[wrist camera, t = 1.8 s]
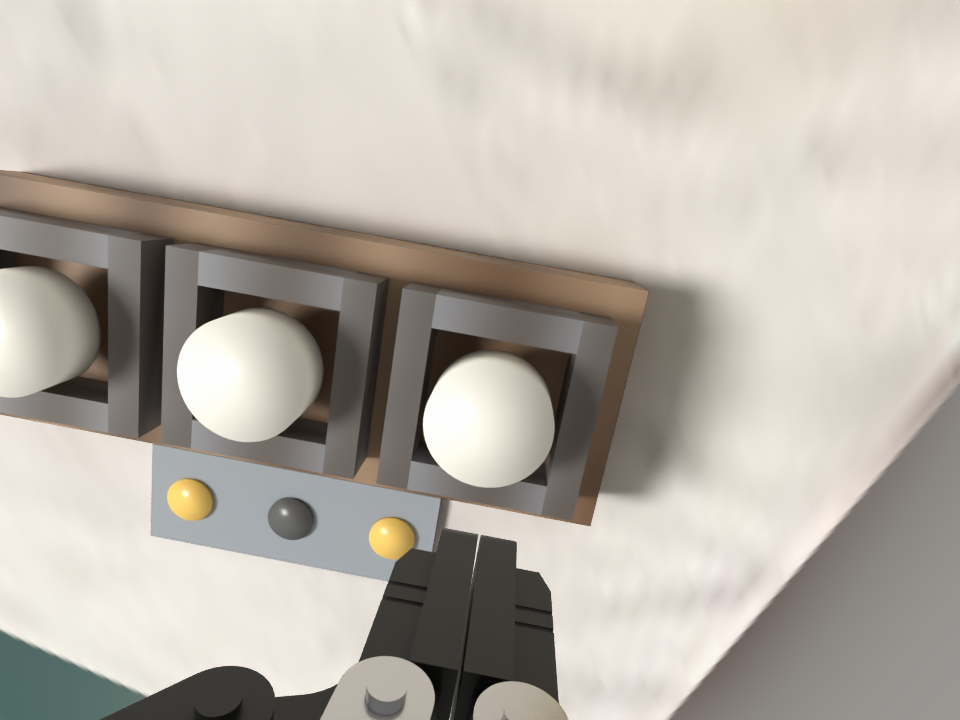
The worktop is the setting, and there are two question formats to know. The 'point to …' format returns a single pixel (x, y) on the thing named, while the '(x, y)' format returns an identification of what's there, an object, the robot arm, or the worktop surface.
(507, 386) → the button right
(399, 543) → the pattern card
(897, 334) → the worktop surface
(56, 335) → the button left
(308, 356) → the button middle
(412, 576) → the robot arm
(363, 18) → the worktop surface
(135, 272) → the button board
